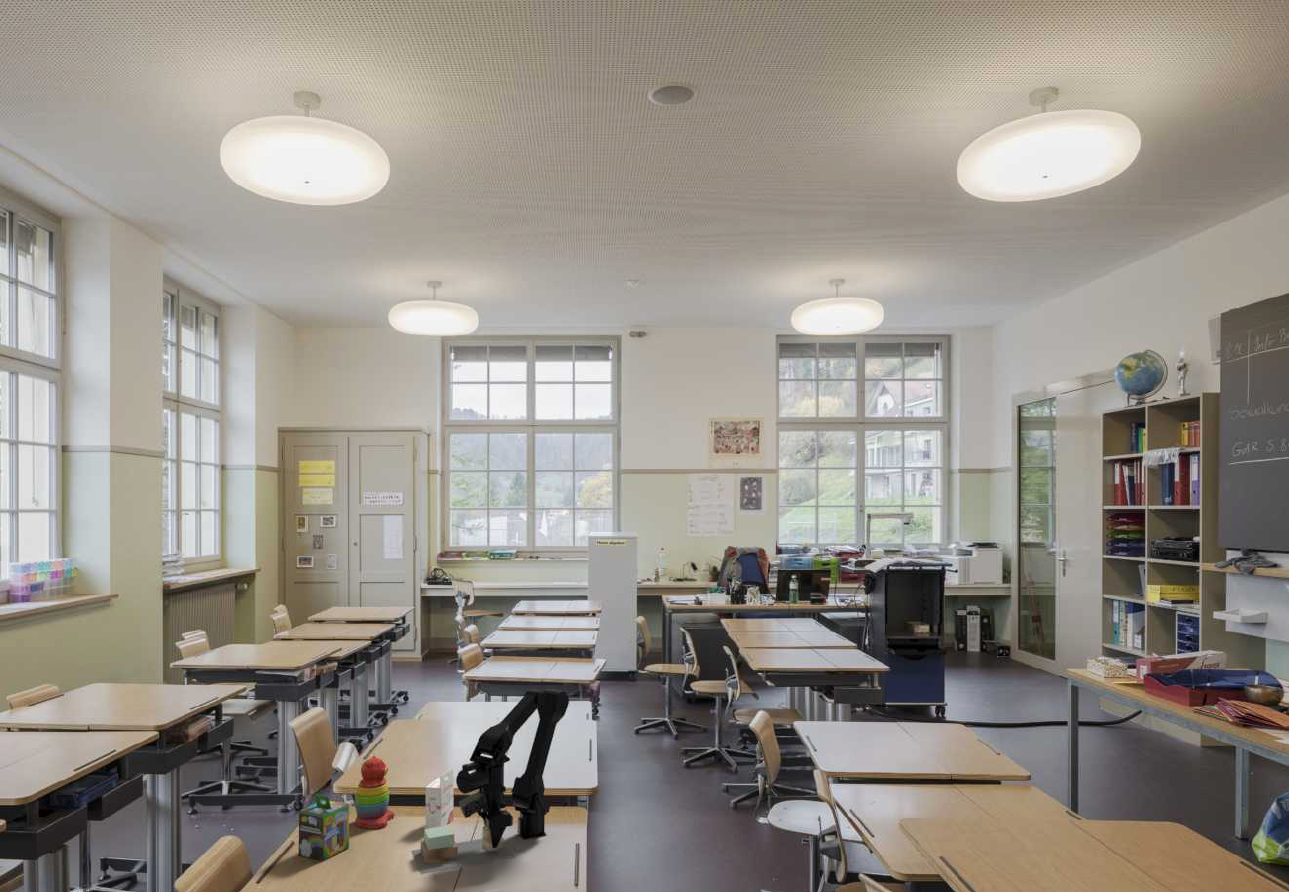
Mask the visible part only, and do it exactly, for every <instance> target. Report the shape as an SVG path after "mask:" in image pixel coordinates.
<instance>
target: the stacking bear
mask: <svg viewBox="0 0 1289 892" xmlns="http://www.w3.org/2000/svg"><path fill="white" fill-rule="evenodd" d="M360 768H361V769H360V774H361V777H362V779H361V780H360V781H359V783H358V785H357V787H356V791H355V792H356V793H355V796H354V806H355V807H354V808H355V811H356V812H355V813H356V815H357V816H356V817H355V823H354V824H355V825H356V826H357V827H359V828H362V829H363V828H364V829H369V830H370V829H371V830H372V829H374V830H376V829H377V830H378V829H379V830H380V829H383V828H386V827H387V826H388V821H389V819H390V820H392V819H394V817H395V816H396V815H395V812H394V810H391V809H388V806H389V802H390V792H389V785H388V783H387V779H386V778H385V776H386V775H387V773H388V771H389V768H388V765H387V764H386V763H385V762H384V761H383V760H382V759H381V758H379V757H376V756H375V755H374V756H372V757H371V758H368V759H366V760H365V761H364V762H363V763H362V765H361V767H360ZM391 818H392V819H391Z"/></svg>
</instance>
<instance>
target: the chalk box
mask: <svg viewBox="0 0 1289 892" xmlns="http://www.w3.org/2000/svg"><path fill="white" fill-rule="evenodd" d="M314 797H315V798H314V799H315V803H313V804H311V805H309V806H308V807H305V808H303V809H301V810H299V811H298V856H302V857H305V858H310V859H313V860H318V861H322V862H324V861H326V860H328V859H329V858H331V857H333V856H335V855H337V854H339V853H341V852H343V851H345V850H347V849H348V848H350V828H349V827H350V803H347V802H341V801H334V800H330V798H329V796H327V795H323V794H317V793H316V794H315V795H314Z"/></svg>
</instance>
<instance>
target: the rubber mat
mask: <svg viewBox="0 0 1289 892" xmlns="http://www.w3.org/2000/svg"><path fill="white" fill-rule="evenodd" d="M455 843H456V844H457V846H458V859H454V860H448V861H442V862H437V863H431V864H425V862H424V860H423V857H422V855H421V848H420V849H413V850H411V853H412V855H413V856H412V857H413V858H414V861H415V863H416V866H417V868H418V871H419V873H420V875H424V874H429V873H434V872H435V873H436V872H439V871H440V872H441V871H446V870H450V869H451V870H452V869H458V868H462V867H466V866H467V867H469V866H473V865H474V866H475V865H479V864H485V863H490V862H496V861H501V860H506V859H512V858H517V856H516V854H515V852H513V850H512V848H511V847H510V845H509V844H508V842H507V841H506V840H505V838H504V837H503V836H502V848H501V849H499V850H496V851H485V850H483V849H482V838H480V839H472V840H466V841H461V842H455Z"/></svg>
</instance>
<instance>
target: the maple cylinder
mask: <svg viewBox="0 0 1289 892" xmlns="http://www.w3.org/2000/svg"><path fill="white" fill-rule="evenodd" d="M502 837H503V836H502ZM502 837H501V839H500V842H499V844H498V846H497V848H493V847H492V842H491V835H490V829H488V828H487V827H486V825H485V826H484V825H483V827H482V838H481V839H482V849H483V850H485V851H496V850H499V849H501V848H502Z"/></svg>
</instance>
